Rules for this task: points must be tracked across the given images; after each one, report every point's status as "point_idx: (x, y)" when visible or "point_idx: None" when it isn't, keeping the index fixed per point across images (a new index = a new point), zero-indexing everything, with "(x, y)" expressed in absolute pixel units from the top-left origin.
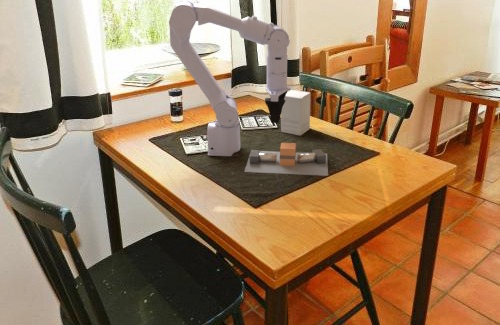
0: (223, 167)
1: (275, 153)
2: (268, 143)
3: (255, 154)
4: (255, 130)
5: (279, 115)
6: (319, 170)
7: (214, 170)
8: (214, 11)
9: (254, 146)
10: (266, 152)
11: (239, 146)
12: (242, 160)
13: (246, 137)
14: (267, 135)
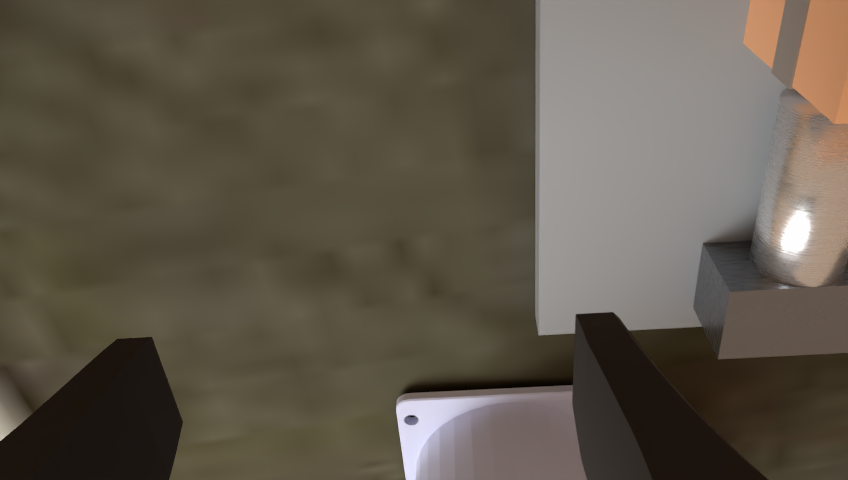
0: (800, 435)
1: (591, 124)
2: (266, 221)
3: (840, 312)
4: (3, 368)
5: (683, 409)
6: None
7: (845, 470)
8: None
9: (370, 317)
10: (573, 210)
11: (534, 436)
12: (676, 350)
13: (193, 402)
14: (71, 259)
